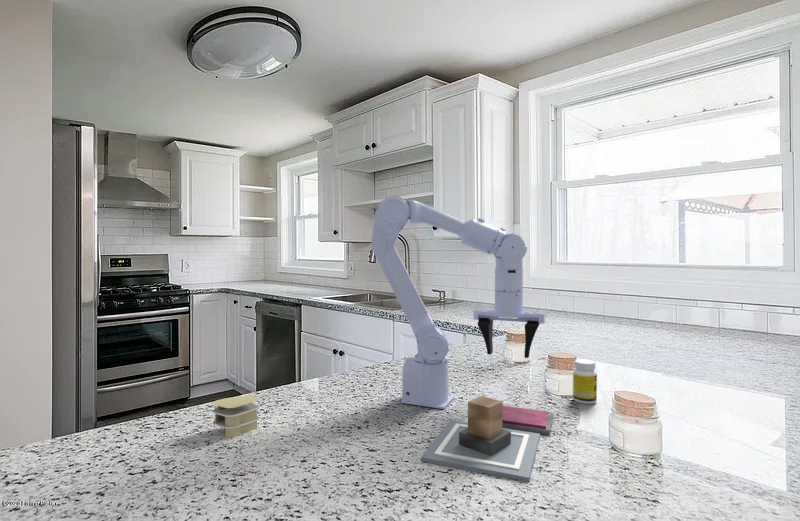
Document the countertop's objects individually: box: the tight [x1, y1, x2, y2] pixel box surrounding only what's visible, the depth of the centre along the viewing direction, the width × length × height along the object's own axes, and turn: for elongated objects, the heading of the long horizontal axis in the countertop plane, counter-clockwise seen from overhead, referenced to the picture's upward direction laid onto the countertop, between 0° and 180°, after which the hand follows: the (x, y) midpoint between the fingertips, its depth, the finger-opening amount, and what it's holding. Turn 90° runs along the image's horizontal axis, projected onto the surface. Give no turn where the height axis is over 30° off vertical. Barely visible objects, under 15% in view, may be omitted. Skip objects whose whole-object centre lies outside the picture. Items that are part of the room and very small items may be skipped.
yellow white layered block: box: [212, 394, 261, 438], centre depth 80 cm, size 10×9×6 cm
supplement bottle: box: [572, 358, 598, 405], centre depth 95 cm, size 5×5×8 cm
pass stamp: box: [459, 395, 511, 456], centre depth 73 cm, size 6×6×7 cm
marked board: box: [420, 419, 541, 483], centre depth 73 cm, size 16×16×1 cm
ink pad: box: [502, 404, 554, 436], centre depth 84 cm, size 11×9×1 cm
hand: (508, 355), depth 95 cm, fingers open, 7 cm apart
